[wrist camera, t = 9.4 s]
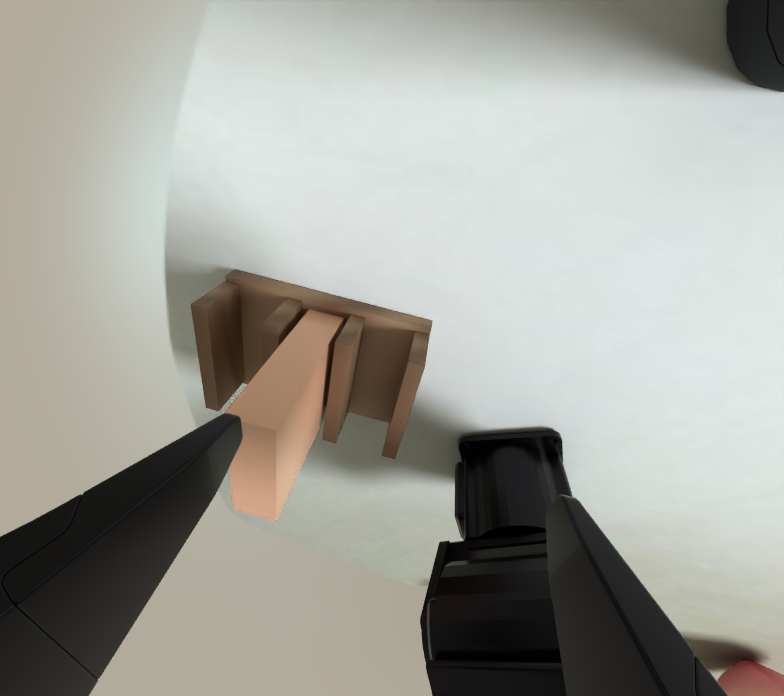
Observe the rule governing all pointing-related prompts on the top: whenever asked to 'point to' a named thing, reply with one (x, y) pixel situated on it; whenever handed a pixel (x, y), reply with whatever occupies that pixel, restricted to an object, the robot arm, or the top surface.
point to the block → (282, 415)
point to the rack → (350, 359)
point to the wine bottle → (758, 40)
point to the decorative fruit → (751, 680)
